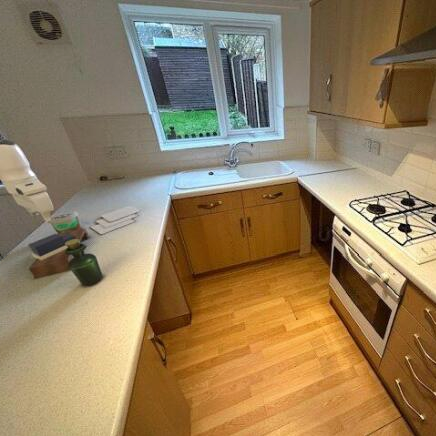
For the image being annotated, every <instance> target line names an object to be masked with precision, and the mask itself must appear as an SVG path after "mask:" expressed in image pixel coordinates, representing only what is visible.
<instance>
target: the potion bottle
mask: <svg viewBox="0 0 436 436" xmlns="http://www.w3.org/2000/svg"><path fill="white" fill-rule="evenodd" d="M65 245H66V246H67V247H68V248H67V249H66V250H65V251H66V254H67V255H72V257H73V258H71V259H70V261H69V265H68V267H69V268H70V269H71V270H70V271H71V272H72V274H73V275H74V276H75V277H76V279H77V280H78V281H79V283H80V284H81V285H82V286H83V287H91V286H95V285H97V284H98V283H100V282H102V279H103V278H104V277H103V276H104V275H103V273H102V270H101V267H100V264H99V261H98V258H97V256H96V255H95V254H93V253H85V250H86V249H87V245H85V244H84V243H82V242H80V243H79V240H78V239H73V240H70V241H68V242H66V243H65Z"/></svg>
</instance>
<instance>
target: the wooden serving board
mask: <svg viewBox="0 0 436 436" xmlns="http://www.w3.org/2000/svg"><path fill="white" fill-rule="evenodd" d="M68 233H69V234H71V235H74V236H75V237H76V239H78V240H79V241H80V242H81V241H85V240H89V239H90V235H89V232H88V231H87V229H86V228H81V229H80V230H75V231H69V232H64V233H59V234H58V233H56V234H57V235H60V236H63V235H66V234H68ZM65 250H66V249H65ZM65 250H63V251H60V252H58V253H56V254H54V255H52V256H50V257H47V258H45V259H43V260H39V259H37V258H35V259H34V261H33V262H32V263H31V265H30V266H29V267H28V270H29V272H30V273H31V275H32V276H33V277H34V279H39V278H43V277H48V276H52V275H56V274H60V273H63V272H68V271H69V272H70V271H71V269H70V268H69V267H68V265H69V261H70V260H71V259H72V257H73V256H72V255H67V254H66V251H65Z"/></svg>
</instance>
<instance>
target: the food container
mask: <svg viewBox="0 0 436 436" xmlns="http://www.w3.org/2000/svg"><path fill="white" fill-rule="evenodd" d="M47 223H48V224H50V225H51V226H52V228H53V229H54V231H55V232H56V234H59V233H64V232H69V231H75V230H80V229H82V225H81V223H80V219H79V212H77V211H76V210H75V211H74V212H73V213H68V214H61V215H58V216H55V217H51V220H50V221H48V222H47Z"/></svg>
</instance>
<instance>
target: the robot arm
mask: <svg viewBox="0 0 436 436" xmlns="http://www.w3.org/2000/svg"><path fill="white" fill-rule="evenodd" d="M0 181H1V183H2V185H3V186H4V188H5V189H6V191H7V193H8V194H11V196H12V197H13V198H14V201H15V203H16V204H17V205H18V206H21V207H23V208H25V209H26V210H27V211H28V213H30V215H31V217H33V218H36V217H39V216H40V215H41V218H42V220H43V221H44V222H46V223H48V221H50V220H51V218H52V217H51V213H50V212H52V211H54V204H53V202H52V200H51V198H50V195H49V194H48V192H47V191H48V188H47V186H46V185H45V183H43V182H41V181H40V180H39V178H38V177H37V175H36V174H35V172H34V171H33V170H32V169H31V165H30V162H29V160H28V158H27V157H26V155H25V153H24V152H23V150H22V148H21V147H20V146H19V145H18V144H17V143H15V142H13V141H11V140H7V139H0Z"/></svg>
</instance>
